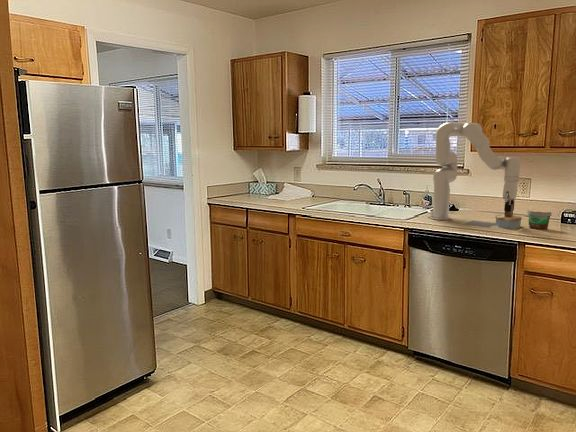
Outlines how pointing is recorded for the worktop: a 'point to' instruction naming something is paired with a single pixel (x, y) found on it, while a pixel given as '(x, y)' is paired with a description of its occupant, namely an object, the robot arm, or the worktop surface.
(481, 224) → the mat
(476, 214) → the worktop surface
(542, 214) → the food container
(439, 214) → the robot arm
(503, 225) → the bowl
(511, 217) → the lid
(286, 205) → the worktop surface
